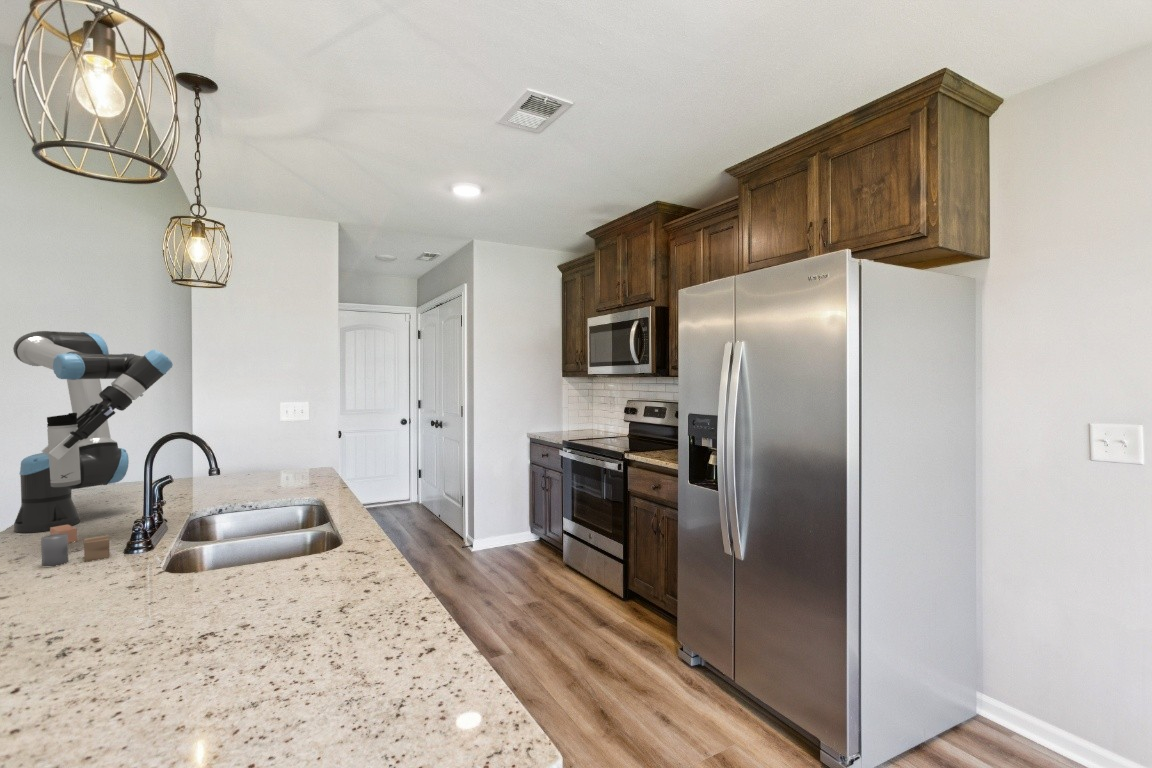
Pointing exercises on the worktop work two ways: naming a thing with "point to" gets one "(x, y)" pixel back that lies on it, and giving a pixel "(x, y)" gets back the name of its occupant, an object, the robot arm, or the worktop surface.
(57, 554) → the grey cylinder
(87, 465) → the robot arm
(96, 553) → the walnut block
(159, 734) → the worktop surface
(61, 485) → the travel mug
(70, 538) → the terracotta brick
